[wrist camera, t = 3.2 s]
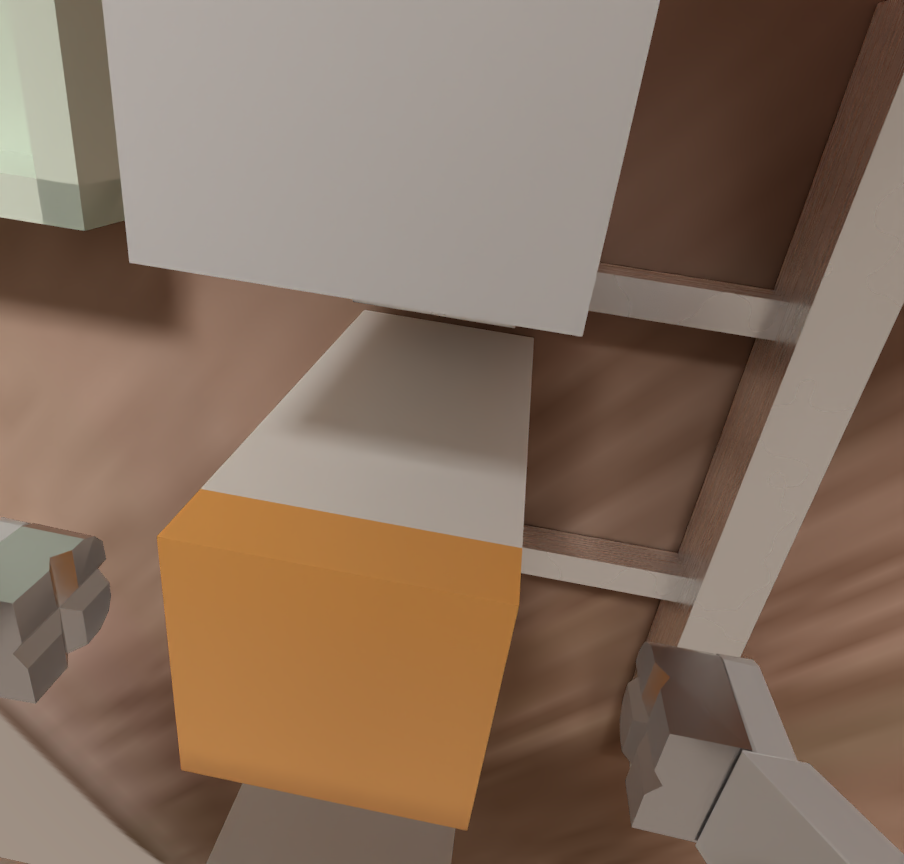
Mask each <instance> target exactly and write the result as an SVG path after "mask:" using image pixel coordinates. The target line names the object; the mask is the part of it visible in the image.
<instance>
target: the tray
mask: <svg viewBox="0 0 904 864" xmlns="http://www.w3.org/2000/svg"><path fill="white" fill-rule="evenodd" d="M0 217H1V218H8V219H14V220H20V221H26V222H32V223H39V224H45V225H51V226H57V227H63V228H69V229H76V230H82V231H86V230H90V229H94V228H98V227H102V226H106V225H109V224H113V223H117V222H121V221H125V217H124V207H123V198H122V188H121V178H120V169H119V159H118V150H117V140H116V131H115V121H114V111H113V102H112V92H111V83H110V73H109V64H108V54H107V45H106V35H105V25H104V16H103V6H102V0H0Z"/></svg>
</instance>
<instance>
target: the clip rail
mask: <svg viewBox="0 0 904 864" xmlns="http://www.w3.org/2000/svg"><path fill="white" fill-rule="evenodd" d="M353 302H358V303H364V304H370V305H376V306H382V307H388V308H394V309H400V310H406V311H413V312H419V313H425V314H431V315H437V316H443V317H449V318H455V319H461V320H467V321H473V322H479V323H486V324H492V325H498V326H504V327H510V328H515V326H513V325H507V324H501V323H495V322H489V321H483V320H477V319H471V318H464V317H458V316H452V315H446V314H440V313H434V312H428V311H422V310H416V309H409V308H403V307H397V306H391V305H385V304H379V303H373V302H367V301H361V300H354V299H353ZM903 303H904V0H888V1H884V2H881V3H878V4H877V6H876V9H875V11H874V14H873V17H872V20H871V22H870V25H869V28H868V31H867V33H866V36H865V39H864V42H863V44H862V47H861V50H860V53H859V55H858V58H857V61H856V64H855V66H854V69H853V72H852V75H851V78H850V80H849V83H848V86H847V89H846V91H845V94H844V97H843V100H842V102H841V105H840V108H839V111H838V113H837V116H836V119H835V122H834V124H833V127H832V130H831V133H830V135H829V138H828V141H827V144H826V146H825V149H824V152H823V155H822V157H821V160H820V163H819V166H818V169H817V171H816V174H815V177H814V180H813V182H812V185H811V188H810V191H809V193H808V196H807V199H806V202H805V204H804V207H803V210H802V213H801V215H800V218H799V221H798V224H797V226H796V229H795V232H794V235H793V237H792V240H791V243H790V246H789V248H788V251H787V254H786V257H785V260H784V262H783V265H782V268H781V271H780V273H779V276H778V279H777V282H776V284H775V287H774V290H771V289H764V288H758V287H752V286H745V285H739V284H733V283H726V282H720V281H713V280H707V279H701V278H694V277H688V276H682V275H675V274H669V273H663V272H656V271H650V270H643V269H637V268H631V267H624V266H618V265H612V264H605V263H599V267H598V271H597V275H596V280H595V284H594V288H593V293H592V297H591V301H590V306H589V310H588V311H594V312H600V313H606V314H612V315H619V316H625V317H631V318H637V319H643V320H650V321H656V322H662V323H668V324H674V325H681V326H687V327H693V328H699V329H705V330H711V331H718V332H724V333H730V334H736V335H742V336H749V337H755V338H756V339H755V342H754V345H753V348H752V351H751V353H750V356H749V359H748V362H747V364H746V367H745V370H744V373H743V375H742V378H741V381H740V384H739V386H738V389H737V392H736V395H735V397H734V400H733V403H732V406H731V408H730V411H729V414H728V417H727V419H726V422H725V425H724V428H723V430H722V433H721V436H720V439H719V442H718V444H717V447H716V450H715V453H714V455H713V458H712V461H711V464H710V466H709V469H708V472H707V475H706V477H705V480H704V483H703V486H702V488H701V491H700V494H699V497H698V499H697V502H696V505H695V508H694V510H693V513H692V516H691V519H690V521H689V524H688V527H687V530H686V533H685V535H684V538H683V541H682V544H681V546H680V549H679V552H678V553H676V552H671V551H665V550H660V549H654V548H649V547H643V546H638V545H632V544H627V543H621V542H616V541H610V540H605V539H599V538H594V537H589V536H583V535H578V534H572V533H567V532H561V531H556V530H550V529H545V528H539V527H534V526H528V525H524V527H523V545H522V563H521V573H524V574H529V575H534V576H540V577H545V578H550V579H556V580H561V581H566V582H572V583H577V584H582V585H588V586H593V587H598V588H604V589H609V590H614V591H620V592H625V593H631V594H636V595H641V596H647V597H652V598H657V599H661V601H660V604H659V607H658V610H657V612H656V615H655V618H654V621H653V624H652V626H651V629H650V632H649V635H648V637H647V640H646V641H648V642H654V643H659V644H665V645H670V646H676V647H681V648H686V649H692V650H697V651H703V652H708V653H713V654H723V655H729V656H735V657H740V656H741V654H742V652H743V650H744V648H745V646H746V643H747V641H748V639H749V637H750V635H751V633H752V630H753V628H754V626H755V624H756V622H757V620H758V617H759V615H760V613H761V611H762V609H763V607H764V604H765V602H766V600H767V598H768V596H769V594H770V591H771V589H772V587H773V585H774V583H775V581H776V578H777V576H778V574H779V572H780V570H781V568H782V565H783V563H784V561H785V559H786V557H787V555H788V552H789V550H790V548H791V546H792V544H793V542H794V539H795V537H796V535H797V533H798V531H799V529H800V526H801V524H802V522H803V520H804V518H805V516H806V513H807V511H808V509H809V507H810V505H811V503H812V500H813V498H814V496H815V494H816V492H817V490H818V487H819V485H820V483H821V481H822V479H823V477H824V474H825V472H826V470H827V468H828V466H829V464H830V461H831V459H832V457H833V455H834V453H835V451H836V448H837V446H838V444H839V442H840V440H841V438H842V435H843V433H844V431H845V429H846V427H847V425H848V422H849V420H850V418H851V416H852V414H853V412H854V409H855V407H856V405H857V403H858V401H859V399H860V396H861V394H862V392H863V390H864V388H865V386H866V383H867V381H868V379H869V377H870V375H871V373H872V370H873V368H874V366H875V364H876V362H877V360H878V357H879V355H880V353H881V351H882V349H883V347H884V344H885V342H886V340H887V338H888V336H889V334H890V331H891V329H892V327H893V325H894V323H895V321H896V318H897V316H898V314H899V312H900V310H901V308H902V305H903ZM637 677H638V673H637V668H636V670H635V673H634V676H633V679H632V680H634V679H636V678H637ZM629 765H630V766H631V763H630V761H629Z"/></svg>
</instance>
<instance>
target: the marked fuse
mask: <svg viewBox="0 0 904 864" xmlns="http://www.w3.org/2000/svg"><path fill="white" fill-rule="evenodd" d="M533 348H534V338H532V337H526V336H520V335H514V334H508V333H502V332H496V331H490V330H484V329H478V328H472V327H466V326H460V325H454V324H448V323H441V322H435V321H429V320H423V319H417V318H411V317H405V316H399V315H393V314H387V313H381V312H375V311H369V310H363V312H362V313H361V314H360V315H359V316H358V317H357V318H356V319H355V320H354V321H353V323H352V324H351V325H350V326H349V327H348V328H347V329H346V330H345V331H344V332H343V333H342V335H341V336H340V337H339V338H338V339H337V340H336V341H335V342H334V343H333V344H332V346H331V347H330V348H329V349H328V350H327V351H326V352H325V353H324V354H323V355H322V356H321V358H320V359H319V360H318V361H317V362H316V363H315V364H314V365H313V366H312V367H311V368H310V370H309V371H308V372H307V373H306V374H305V375H304V376H303V377H302V378H301V379H300V381H299V382H298V383H297V384H296V385H295V386H294V387H293V388H292V389H291V390H290V391H289V393H288V394H287V395H286V396H285V397H284V398H283V399H282V400H281V401H280V402H279V404H278V405H277V406H276V407H275V408H274V409H273V410H272V411H271V412H270V413H269V414H268V416H267V417H266V418H265V419H264V420H263V421H262V422H261V423H260V424H259V425H258V426H257V428H256V429H255V430H254V431H253V432H252V433H251V434H250V435H249V436H248V437H247V439H246V440H245V441H244V442H243V443H242V444H241V445H240V446H239V447H238V448H237V449H236V451H235V452H234V453H233V454H232V455H231V456H230V457H229V458H228V459H227V460H226V462H225V463H224V464H223V465H222V466H221V467H220V468H219V469H218V470H217V471H216V472H215V474H214V475H213V476H212V477H211V478H210V479H209V480H208V481H207V482H206V483H205V484H204V486H203V487H202V488H201V489H200V490H199V491H198V492H197V493H196V494H195V495H194V497H193V498H192V499H191V500H190V501H189V502H188V503H187V504H186V505H185V506H184V507H183V509H182V510H181V511H180V512H179V513H178V514H177V515H176V516H175V517H174V518H173V520H172V521H171V522H170V523H169V524H168V525H167V526H166V527H165V528H164V529H163V530H162V532H161V533H160V534H159V535H158V536H157V543H158V553H159V562H160V572H161V581H162V591H163V600H164V610H165V619H166V629H167V639H168V648H169V658H170V667H171V677H172V686H173V696H174V705H175V715H176V724H177V734H178V744H179V753H180V763H181V770H182V771H187V772H192V773H197V774H201V775H206V776H211V777H216V778H220V779H225V780H230V781H234V782H239V783H244V784H249V785H253V786H258V787H263V788H268V789H272V790H277V791H282V792H286V793H291V794H296V795H301V796H305V797H310V798H315V799H319V800H324V801H329V802H334V803H338V804H343V805H348V806H353V807H357V808H362V809H367V810H371V811H376V812H381V813H386V814H390V815H395V816H400V817H405V818H409V819H414V820H419V821H423V822H428V823H433V824H438V825H442V826H447V827H452V828H457V829H461V830H466V831H467V829H468V825H469V821H470V816H471V812H472V808H473V803H474V799H475V795H476V790H477V786H478V782H479V777H480V773H481V769H482V764H483V760H484V756H485V751H486V747H487V743H488V738H489V734H490V730H491V725H492V721H493V717H494V712H495V708H496V704H497V699H498V695H499V691H500V686H501V682H502V678H503V673H504V669H505V665H506V660H507V656H508V651H509V647H510V643H511V638H512V634H513V630H514V625H515V621H516V617H517V612H518V608H519V599H520V581H521V563H522V545H523V527H524V509H525V491H526V473H527V455H528V437H529V419H530V401H531V384H532V366H533Z"/></svg>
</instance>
